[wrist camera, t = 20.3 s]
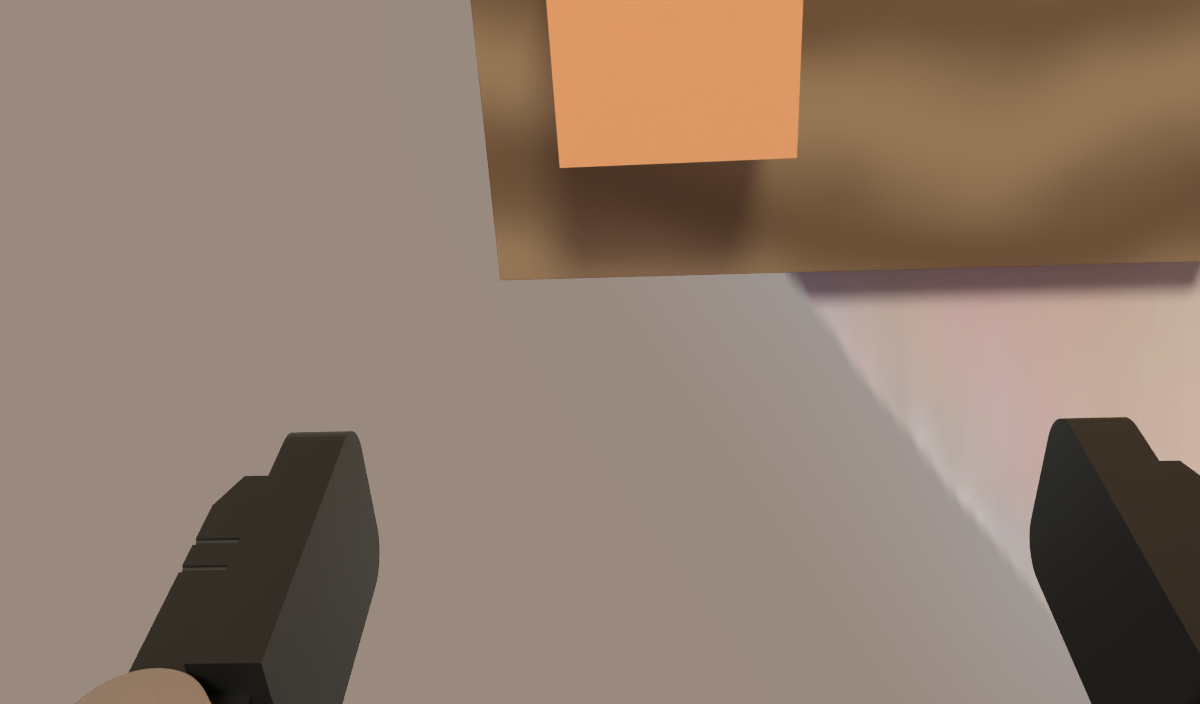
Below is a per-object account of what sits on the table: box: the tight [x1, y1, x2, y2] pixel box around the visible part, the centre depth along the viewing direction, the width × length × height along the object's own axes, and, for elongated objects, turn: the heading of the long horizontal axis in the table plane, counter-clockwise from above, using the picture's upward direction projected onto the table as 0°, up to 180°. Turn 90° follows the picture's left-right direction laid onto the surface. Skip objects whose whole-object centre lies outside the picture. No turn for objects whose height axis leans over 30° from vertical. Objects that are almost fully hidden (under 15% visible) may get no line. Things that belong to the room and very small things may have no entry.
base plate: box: [471, 0, 1200, 280], centre depth 30 cm, size 18×24×6 cm
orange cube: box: [546, 0, 803, 168], centre depth 29 cm, size 6×6×6 cm
